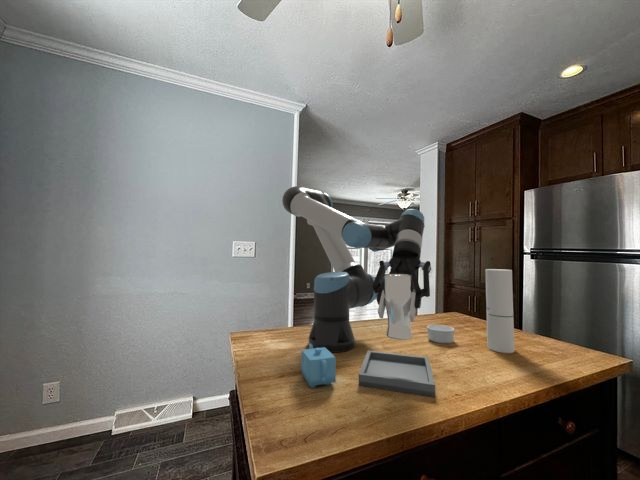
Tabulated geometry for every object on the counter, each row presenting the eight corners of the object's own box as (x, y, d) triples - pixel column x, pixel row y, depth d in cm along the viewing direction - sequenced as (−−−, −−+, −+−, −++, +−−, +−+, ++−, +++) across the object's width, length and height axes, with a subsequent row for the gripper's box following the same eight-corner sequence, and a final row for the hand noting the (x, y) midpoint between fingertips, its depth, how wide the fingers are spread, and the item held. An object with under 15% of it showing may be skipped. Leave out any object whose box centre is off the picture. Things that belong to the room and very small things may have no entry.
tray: (358, 385, 61) (358, 374, 61) (367, 359, 76) (367, 350, 76) (435, 397, 56) (435, 384, 56) (428, 366, 72) (428, 357, 72)
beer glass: (414, 333, 68) (412, 274, 69) (414, 341, 62) (412, 276, 63) (386, 331, 71) (384, 273, 72) (383, 339, 64) (382, 275, 65)
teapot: (297, 371, 69) (298, 340, 69) (320, 367, 71) (320, 338, 71) (311, 394, 57) (312, 358, 58) (338, 389, 59) (338, 354, 60)
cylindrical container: (505, 345, 89) (503, 269, 90) (519, 353, 82) (517, 270, 83) (483, 344, 90) (481, 269, 91) (494, 352, 83) (492, 270, 84)
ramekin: (421, 338, 97) (421, 325, 97) (439, 335, 101) (438, 323, 101) (442, 345, 89) (442, 332, 89) (460, 342, 93) (460, 329, 93)
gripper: (445, 258, 76) (442, 330, 61) (377, 257, 86) (360, 321, 70) (443, 238, 72) (439, 311, 57) (371, 240, 81) (352, 303, 66)
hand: (395, 316), depth 64 cm, fingers closed on beer glass, 7 cm apart
